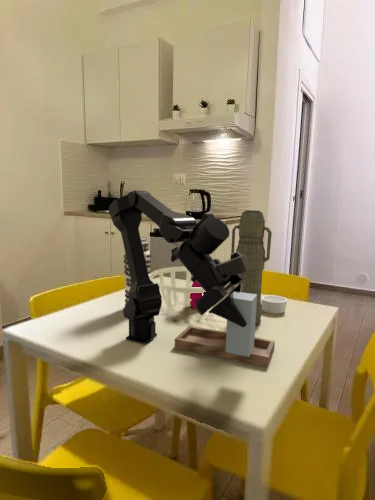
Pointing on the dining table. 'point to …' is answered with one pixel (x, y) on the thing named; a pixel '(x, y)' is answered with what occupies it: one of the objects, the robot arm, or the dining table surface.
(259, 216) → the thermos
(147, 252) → the decorative candle
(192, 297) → the pepper mill
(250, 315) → the slate post
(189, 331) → the wooden tray
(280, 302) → the ramekin
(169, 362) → the dining table surface
